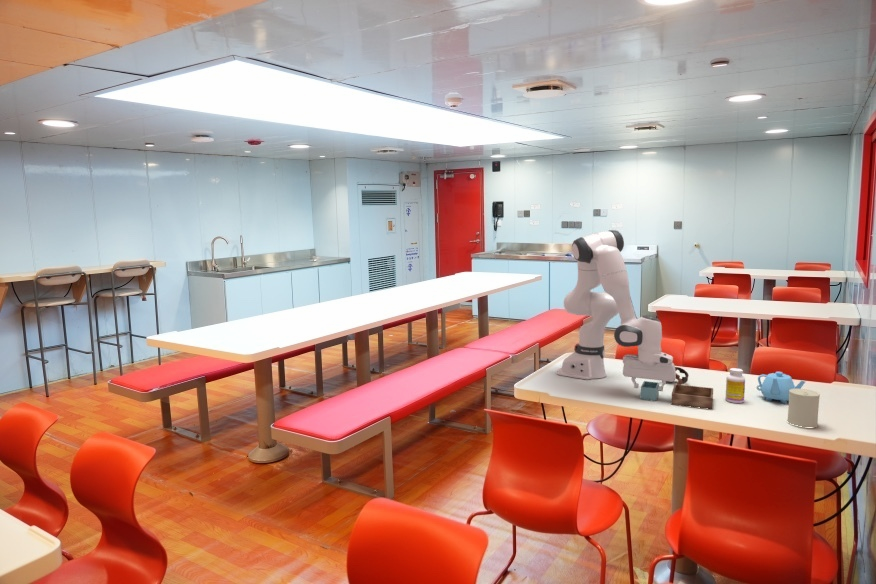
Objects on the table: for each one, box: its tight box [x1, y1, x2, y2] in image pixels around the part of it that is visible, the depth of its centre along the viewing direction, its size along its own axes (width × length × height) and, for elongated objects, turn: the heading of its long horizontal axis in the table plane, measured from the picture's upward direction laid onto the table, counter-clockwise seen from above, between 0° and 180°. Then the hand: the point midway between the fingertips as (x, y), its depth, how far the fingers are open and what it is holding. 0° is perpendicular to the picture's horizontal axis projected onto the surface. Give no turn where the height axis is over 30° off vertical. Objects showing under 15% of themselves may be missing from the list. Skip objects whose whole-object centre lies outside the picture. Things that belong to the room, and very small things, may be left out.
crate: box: [670, 383, 714, 410], centre depth 228 cm, size 14×14×4 cm
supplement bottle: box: [725, 367, 746, 404], centre depth 228 cm, size 7×7×13 cm
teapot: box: [756, 371, 806, 404], centre depth 229 cm, size 15×14×11 cm
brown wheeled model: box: [666, 366, 689, 385], centre depth 254 cm, size 12×10×8 cm
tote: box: [639, 380, 660, 402], centre depth 235 cm, size 10×6×5 cm, turn 153°
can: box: [786, 388, 821, 428], centre depth 202 cm, size 9×9×12 cm
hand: (648, 389), depth 234 cm, fingers open, 8 cm apart
